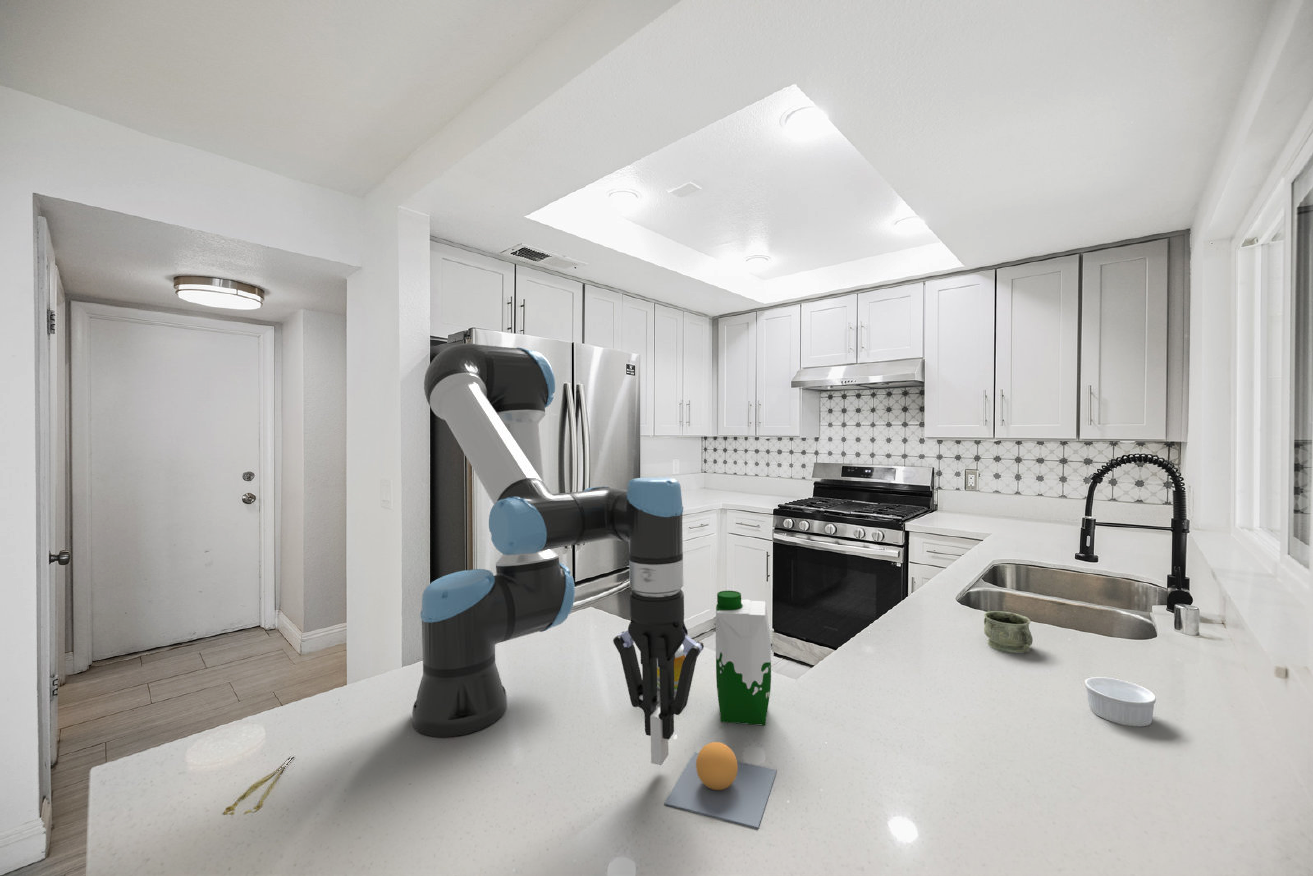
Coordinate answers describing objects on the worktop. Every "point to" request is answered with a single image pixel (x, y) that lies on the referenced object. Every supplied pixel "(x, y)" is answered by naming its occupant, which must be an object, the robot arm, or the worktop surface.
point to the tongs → (256, 786)
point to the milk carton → (742, 659)
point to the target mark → (725, 794)
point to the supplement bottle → (677, 667)
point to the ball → (716, 766)
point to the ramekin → (1120, 701)
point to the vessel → (1007, 631)
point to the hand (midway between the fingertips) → (660, 758)
